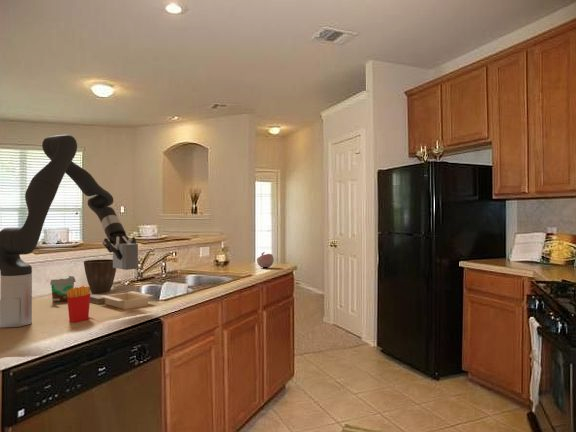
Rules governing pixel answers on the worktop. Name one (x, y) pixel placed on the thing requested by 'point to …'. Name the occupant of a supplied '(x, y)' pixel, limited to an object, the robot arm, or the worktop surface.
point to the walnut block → (99, 300)
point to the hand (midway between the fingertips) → (127, 257)
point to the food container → (61, 288)
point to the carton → (127, 300)
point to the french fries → (78, 303)
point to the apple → (265, 260)
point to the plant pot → (100, 275)
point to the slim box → (126, 257)
